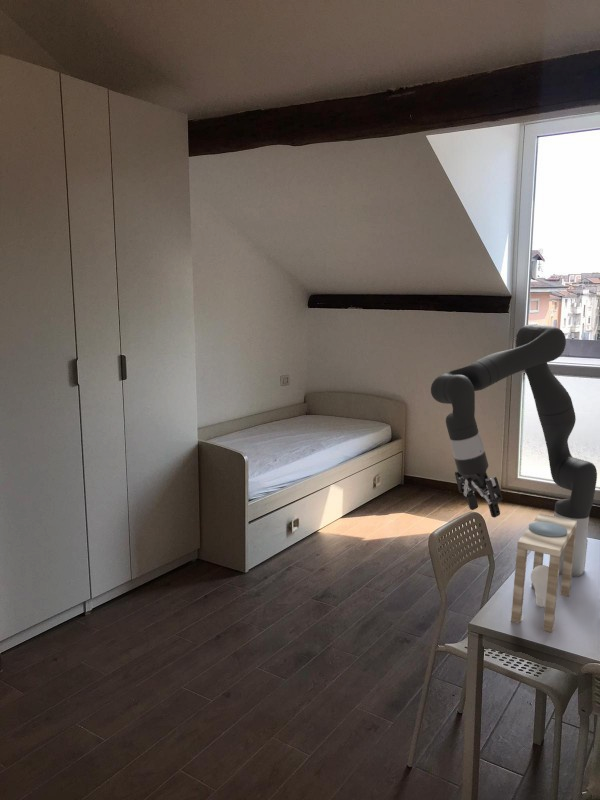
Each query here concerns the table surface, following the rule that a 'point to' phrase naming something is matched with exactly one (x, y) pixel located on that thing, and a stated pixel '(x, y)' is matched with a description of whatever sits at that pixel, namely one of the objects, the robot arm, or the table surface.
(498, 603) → the table surface
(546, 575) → the lightbulb
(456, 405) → the robot arm
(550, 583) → the stool
